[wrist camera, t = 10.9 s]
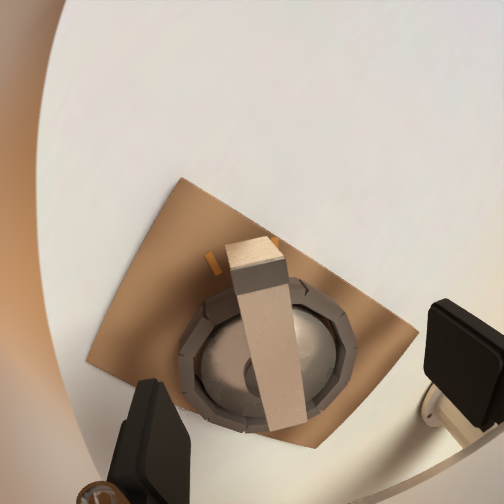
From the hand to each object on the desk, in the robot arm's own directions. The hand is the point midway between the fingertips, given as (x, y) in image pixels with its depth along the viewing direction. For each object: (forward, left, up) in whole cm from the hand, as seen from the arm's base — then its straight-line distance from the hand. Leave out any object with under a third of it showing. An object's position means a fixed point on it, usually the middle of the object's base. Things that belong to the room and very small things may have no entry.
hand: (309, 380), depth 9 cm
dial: (-3, +4, -12) cm, 13 cm away
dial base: (-5, +6, -14) cm, 16 cm away
